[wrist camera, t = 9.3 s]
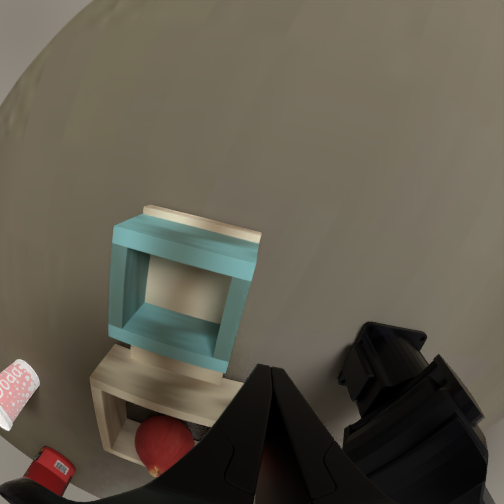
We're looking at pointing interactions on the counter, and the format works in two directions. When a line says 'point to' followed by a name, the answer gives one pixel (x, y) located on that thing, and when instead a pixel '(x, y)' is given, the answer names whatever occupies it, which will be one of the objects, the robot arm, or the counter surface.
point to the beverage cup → (15, 390)
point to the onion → (162, 442)
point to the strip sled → (171, 321)
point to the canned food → (51, 470)
